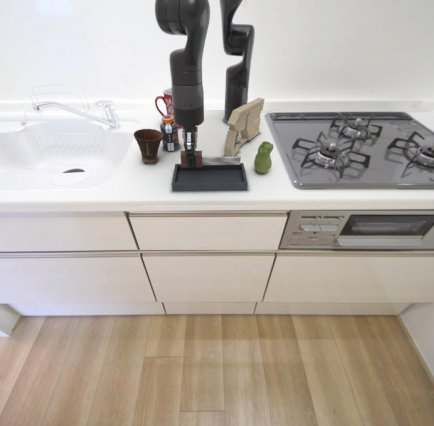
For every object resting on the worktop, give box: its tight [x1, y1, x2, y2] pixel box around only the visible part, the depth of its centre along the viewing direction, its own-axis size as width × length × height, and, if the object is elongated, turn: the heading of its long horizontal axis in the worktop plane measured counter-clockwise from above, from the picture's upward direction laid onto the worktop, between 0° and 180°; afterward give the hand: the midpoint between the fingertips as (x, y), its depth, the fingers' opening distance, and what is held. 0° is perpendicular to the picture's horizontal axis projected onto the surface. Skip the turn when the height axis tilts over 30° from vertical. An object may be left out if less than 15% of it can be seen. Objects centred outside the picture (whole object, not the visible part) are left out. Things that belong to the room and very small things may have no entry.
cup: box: [133, 128, 163, 164], centre depth 78 cm, size 9×9×10 cm
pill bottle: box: [159, 114, 180, 152], centre depth 83 cm, size 6×6×11 cm
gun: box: [223, 97, 265, 157], centre depth 84 cm, size 24×3×15 cm, turn 148°
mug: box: [154, 87, 183, 129], centre depth 97 cm, size 13×9×14 cm
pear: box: [253, 140, 274, 174], centre depth 72 cm, size 6×5×10 cm
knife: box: [179, 150, 242, 168], centre depth 68 cm, size 17×3×4 cm, turn 91°
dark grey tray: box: [171, 162, 249, 192], centre depth 72 cm, size 22×11×3 cm, turn 91°
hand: (192, 163), depth 69 cm, fingers closed on knife, 2 cm apart
